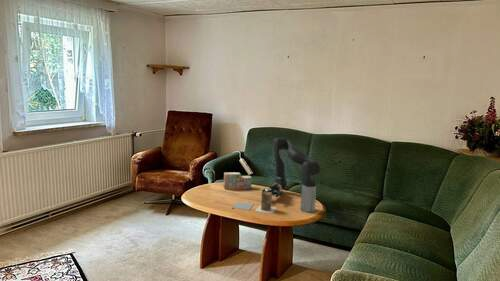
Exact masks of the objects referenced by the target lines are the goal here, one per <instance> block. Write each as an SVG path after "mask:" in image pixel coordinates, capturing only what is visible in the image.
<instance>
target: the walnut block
mask: <svg viewBox="0 0 500 281" xmlns="http://www.w3.org/2000/svg"><path fill="white" fill-rule="evenodd" d="M272 197H273V195H272V192H263V193H262V192H261V202H260V203H261V204H260V205H261V210H266V211H270V209H271V207H272V200H273V199H272Z"/></svg>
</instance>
